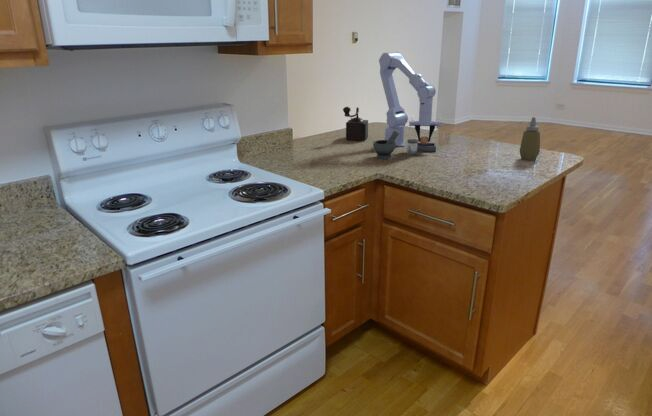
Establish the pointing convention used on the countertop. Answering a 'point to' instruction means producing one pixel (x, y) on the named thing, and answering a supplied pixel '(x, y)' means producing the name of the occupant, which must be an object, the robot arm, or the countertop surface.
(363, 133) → the manual coffee grinder
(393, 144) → the mortar and pestle
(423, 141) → the ball
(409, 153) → the shaker
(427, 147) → the dish
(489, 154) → the countertop surface
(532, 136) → the squeeze bottle
